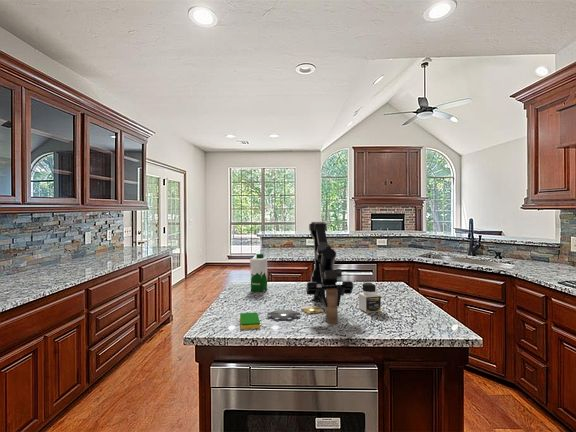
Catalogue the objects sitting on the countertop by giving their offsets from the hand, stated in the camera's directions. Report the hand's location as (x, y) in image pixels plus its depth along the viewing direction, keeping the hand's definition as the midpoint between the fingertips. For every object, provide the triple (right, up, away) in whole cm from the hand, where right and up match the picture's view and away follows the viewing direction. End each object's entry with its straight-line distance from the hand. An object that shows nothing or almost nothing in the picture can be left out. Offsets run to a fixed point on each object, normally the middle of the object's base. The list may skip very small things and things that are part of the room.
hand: (332, 306), depth 131 cm
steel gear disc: (-19, -7, +10) cm, 23 cm away
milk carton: (-34, -6, +57) cm, 66 cm away
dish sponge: (-33, -8, +2) cm, 34 cm away
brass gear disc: (-7, -6, +16) cm, 19 cm away
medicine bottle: (+19, -6, +17) cm, 26 cm away
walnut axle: (0, -7, +1) cm, 7 cm away
